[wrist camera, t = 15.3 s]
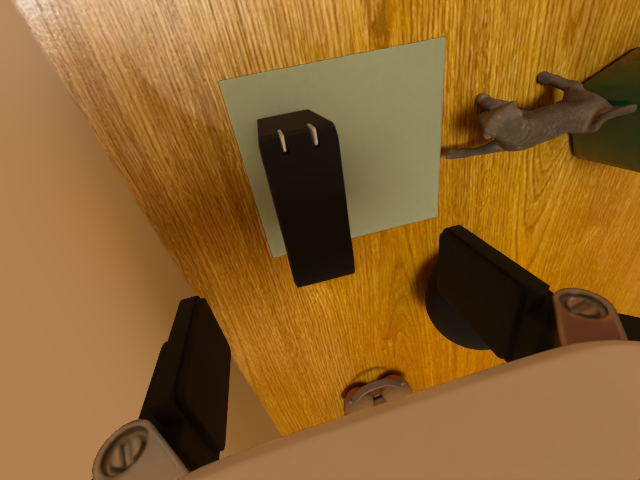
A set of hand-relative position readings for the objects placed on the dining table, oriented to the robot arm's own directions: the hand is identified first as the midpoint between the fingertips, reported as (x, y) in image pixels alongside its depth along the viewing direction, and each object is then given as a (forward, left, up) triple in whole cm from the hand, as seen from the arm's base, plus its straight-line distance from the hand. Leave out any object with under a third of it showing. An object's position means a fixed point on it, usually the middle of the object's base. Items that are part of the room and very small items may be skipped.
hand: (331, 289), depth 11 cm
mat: (+5, 0, -17) cm, 18 cm away
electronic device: (0, 0, -17) cm, 17 cm away
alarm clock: (+5, -38, -17) cm, 42 cm away
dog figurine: (+20, +1, -17) cm, 27 cm away
